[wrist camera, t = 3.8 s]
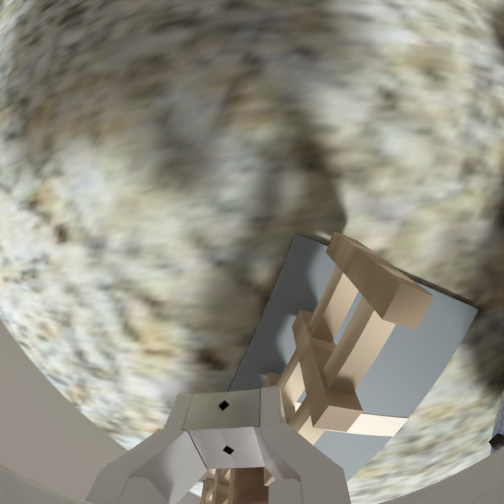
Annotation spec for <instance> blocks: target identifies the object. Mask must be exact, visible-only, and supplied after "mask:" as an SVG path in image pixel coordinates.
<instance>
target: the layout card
mask: <svg viewBox="0 0 504 504" xmlns="http://www.w3.org/2000/svg"><path fill="white" fill-rule="evenodd" d="M327 248H328V245H325V244H323V243H320V242H317V241H315V240H312V239H310V238H307V237H304V236H302V235H299V234H297V233H296V235H295V237H294V240H293V242H292V245H291V247H290V249H289V252H288V254H287V257H286V259H285V262H284V264H283V267H282V269H281V271H280V274H279V276H278V279H277V281H276V283H275V286H274V288H273V290H272V293H271V295H270V298H269V300H268V302H267V305H266V307H265V309H264V312H263V314H262V316H261V319H260V321H259V323H258V326H257V328H256V330H255V332H254V335H253V337H252V339H251V342H250V344H249V346H248V348H247V351H246V353H245V355H244V357H243V359H242V362H241V364H240V366H239V368H238V371H237V373H236V375H235V377H234V379H233V382H232V384H231V386H230V388H229V390H228V392H231V391H241V390H250V389H258V388H262V384H263V383H264V381H265V379H266V377H267V375H268V373H269V372H272V373H276V374H280V375H282V374H283V372H284V370H285V368H286V367H287V365H288V363H289V361H290V359H291V357H292V355H293V353H294V352H295V350H296V344H295V339H294V335H293V330H292V325H293V323H294V321H295V319H296V317H297V315H298V312H299V310H300V309H302V310H305V311H308V312H311V313H314V312H315V310H316V308H317V306H318V304H319V302H320V299H321V297H322V295H323V293H324V291H325V289H326V287H327V285H328V282H329V280H330V278H331V276H332V274H333V271H334V269H335V267H336V263H335V262H334V261H333V260H332V259H331V258H330V257H329V255H328V254H327V253H326V250H327ZM413 281H414V280H413ZM415 282H416V281H415ZM416 283H417V284H419V285H420V286H421V287H423V288H424V289H425V290H426V291H428V292H429V293H430V294H432V295H433V296H434V298H433V300H432V302H431V304H430V306H429V308H428V310H427V312H426V314H425V316H424V318H423V320H422V321H421V323H420V325H419V327H418V329H417V330H413V329H410V328H407V327H404V326H401V325H397V324H396V325H395V327H394V329H393V330H392V332H391V334H390V336H389V337H388V339H387V341H386V342H385V344H384V346H383V348H382V349H381V351H380V353H379V354H378V356H377V357H376V359H375V361H374V362H373V364H372V365H371V367H370V369H369V370H368V372H367V373H366V375H365V376H364V378H363V379H362V381H361V382H360V384H359V385H358V387H357V388H356V390H355V392H356V395H357V397H358V399H359V402H360V404H361V407H362V409H363V412H362V413H361V414H360V416H359V417H358V418H357V420H356V421H355V422H354V423H353V425H352V426H351V427H350V428H349V429H348V431H347V432H341V431H333V430H325V431H324V433H323V434H322V435H321V436H320V438H319V439H318V440H317V441H316V442H315V444H314V445H313V446H315V447H316V448H317V449H318V450H320V451H321V452H322V453H323V454H325V455H326V456H327V457H328V458H330V459H331V460H332V461H334V462H335V463H336V464H338V465H339V466H340V467H342V468H343V470H344V474H345V479H346V482H347V481H348V480H350V479H351V478H352V477H353V476H354V475H355V474H356V473H357V472H358V471H359V470H360V469H361V468H362V467H364V466H365V465H366V464H367V463H368V462H369V461H370V460H371V459H372V458H373V457H374V456H375V455H376V454H377V453H378V451H379V450H380V449H381V448H382V447H383V446H384V445H385V444H386V443H387V442H388V441H389V440H390V439H391V438H392V436H394V435H395V434H396V433H397V431H398V430H399V429H400V428H401V427H402V426H403V424H404V423H405V422H406V421H407V420H408V418H409V416H410V415H411V414H412V413H413V412H414V410H415V409H416V408H417V406H418V405H419V404H420V403H421V401H422V400H423V399H424V397H425V396H426V395H427V393H428V392H429V390H430V389H431V388H432V386H433V385H434V383H435V382H436V381H437V379H438V378H439V376H440V375H441V373H442V372H443V370H444V369H445V367H446V366H447V364H448V363H449V361H450V360H451V358H452V356H453V355H454V353H455V351H456V350H457V348H458V346H459V345H460V343H461V341H462V340H463V338H464V336H465V334H466V333H467V331H468V329H469V327H470V325H471V323H472V322H473V320H474V318H475V316H476V314H477V312H478V309H477V308H475V307H473V306H471V305H469V304H466V303H464V302H462V301H460V300H457V299H455V298H453V297H451V296H448V295H446V294H444V293H442V292H439V291H437V290H435V289H432V288H430V287H428V286H425V285H423V284H421V283H418V282H416ZM362 296H363V295H362V294H361V293H360V292H359V291H358V293H357V295H356V297H355V299H354V301H353V303H352V305H351V307H350V309H349V311H348V313H347V315H346V317H345V319H344V321H343V323H342V325H341V326H340V328H339V330H338V332H337V334H336V336H335V338H334V339H333V340H334V343H335V345H336V346H337V344H338V342H339V340H340V339H341V337H342V335H343V333H344V331H345V329H346V328H347V326H348V324H349V322H350V320H351V318H352V316H353V314H354V312H355V310H356V308H357V306H358V304H359V302H360V300H361V298H362ZM305 397H306V391H305V389H304V391H303V392H302V394H301V396H300V397H299V399H298V400H297V402H296V403H295V412H296V411H297V409H298V408H299V406H300V405H301V403H302V402H303V400H304V399H305ZM215 470H216V469H207V471H206V473H205V474H204V475H203V476H202V477H201V478H200V479H199V480H198V481H202V482H204V481H205V480H206V478H210V479H214V478H215Z"/></svg>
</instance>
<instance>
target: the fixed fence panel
mask: <svg viewBox="0 0 504 504" xmlns="http://www.w3.org/2000/svg"><path fill="white" fill-rule="evenodd" d="M237 479H238V468H225V469H216V470H215V478H214V479H210V478H206V480H205V481H204V484H203V490H202V496H201V503H200V504H236V495H237Z"/></svg>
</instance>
